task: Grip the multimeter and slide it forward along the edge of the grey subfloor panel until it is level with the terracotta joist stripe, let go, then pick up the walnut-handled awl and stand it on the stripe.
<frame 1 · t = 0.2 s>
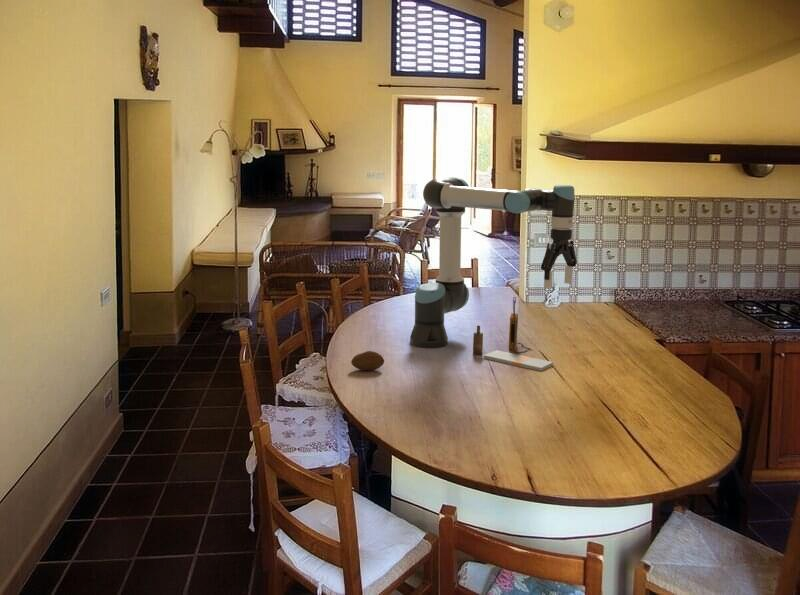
hand: (557, 286, 284), 28 cm above the table, fingers open, 13 cm apart
multimeter: (521, 348, 303), on the table
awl: (477, 353, 295), on the table
panel: (517, 361, 285), on the table
potato: (367, 370, 273), on the table
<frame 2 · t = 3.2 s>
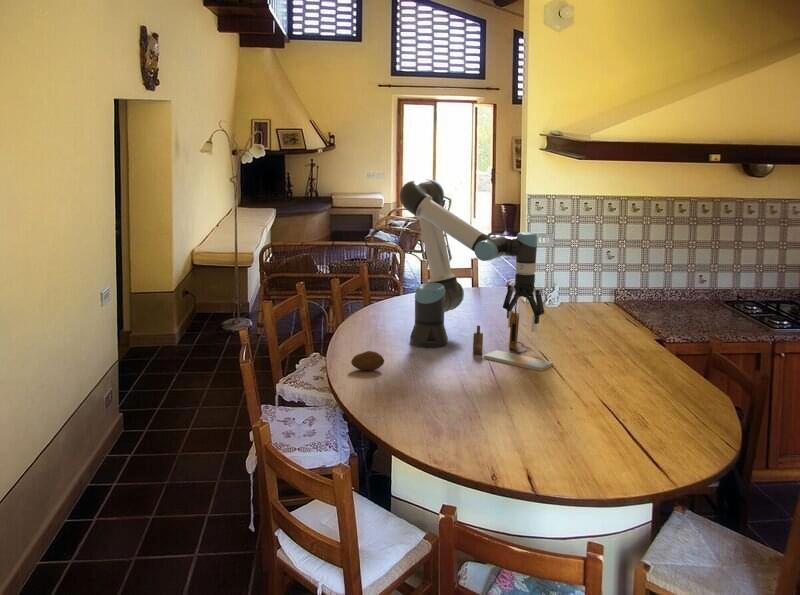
hand: (522, 329, 302), 8 cm above the table, fingers open, 10 cm apart
multimeter: (522, 348, 303), on the table, touching gripper
everything else where it was.
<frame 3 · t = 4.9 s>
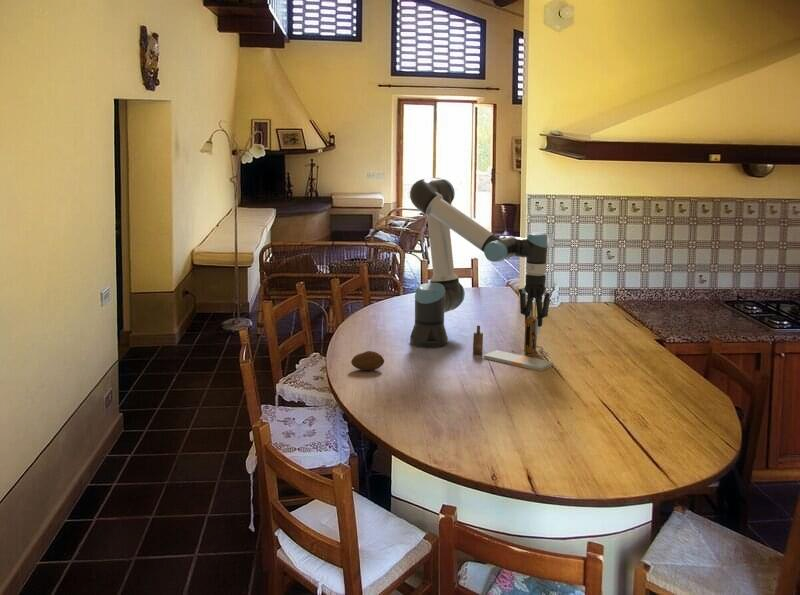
hand: (533, 333, 299), 7 cm above the table, fingers closed on multimeter, 3 cm apart
multimeter: (539, 352, 297), on the table, touching gripper
everything else where it was.
when the fingers open (7 cm above the table, at t = 6.7 s): multimeter stays where it is, on the table.
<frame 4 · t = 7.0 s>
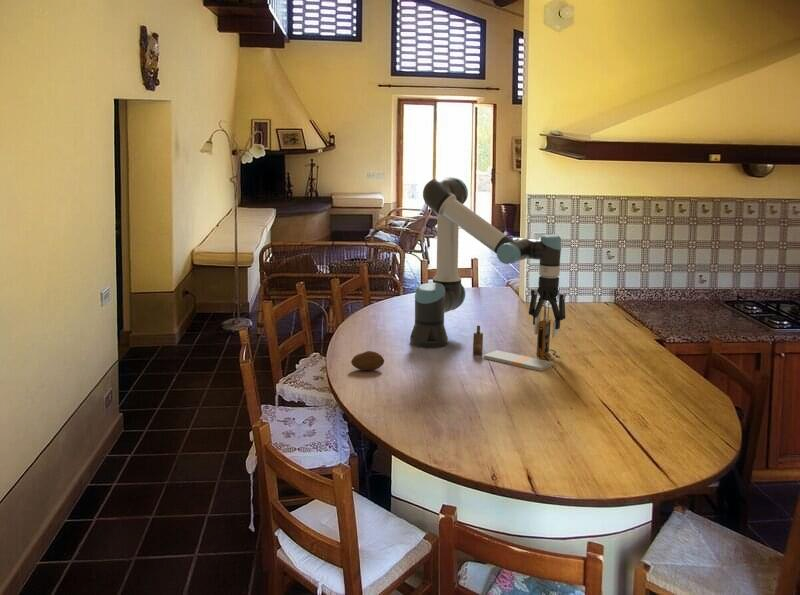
hand: (545, 335, 296), 7 cm above the table, fingers open, 7 cm apart
multimeter: (551, 356, 294), on the table
everything else where it was.
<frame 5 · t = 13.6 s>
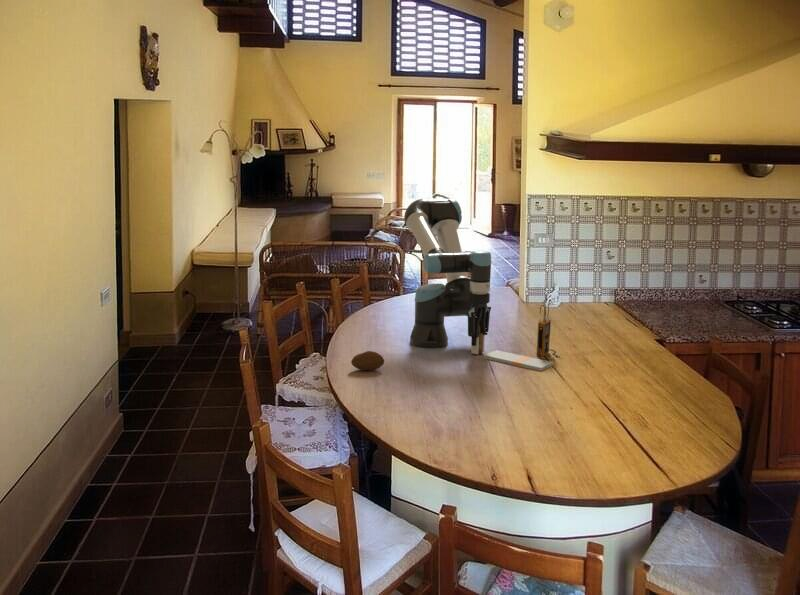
hand: (477, 352, 295), 1 cm above the table, fingers closed on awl, 3 cm apart
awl: (477, 353, 295), on the table, touching gripper
everything else where it was.
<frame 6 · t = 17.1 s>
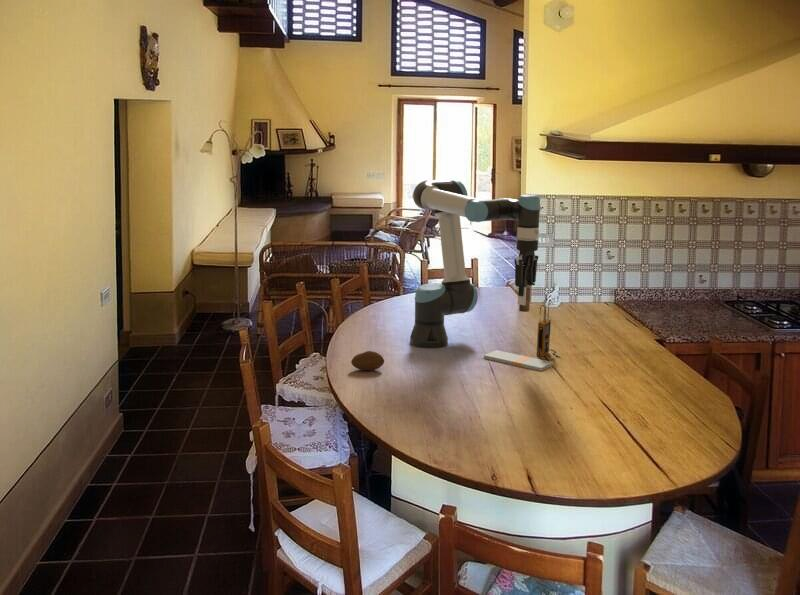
hand: (524, 303, 279), 22 cm above the table, fingers closed on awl, 3 cm apart
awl: (524, 310, 279), point 20 cm above the table, touching gripper
everything else where it was.
when the fingers open (3 cm above the table, at t = 20.7 s): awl stays where it is, resting on panel.
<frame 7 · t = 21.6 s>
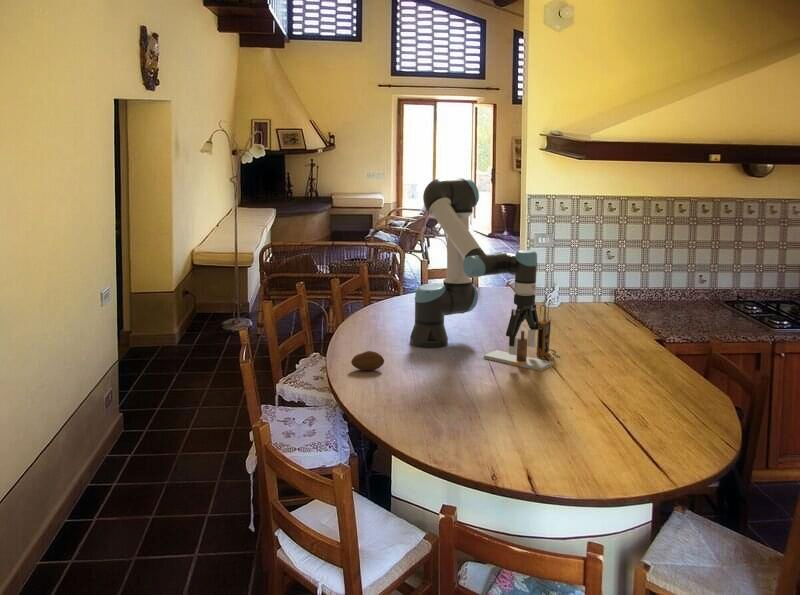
hand: (521, 350, 282), 5 cm above the table, fingers open, 13 cm apart
multimeter: (551, 356, 294), on the table, touching hand
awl: (521, 360, 283), point 1 cm above the table, touching panel
everything else where it was.
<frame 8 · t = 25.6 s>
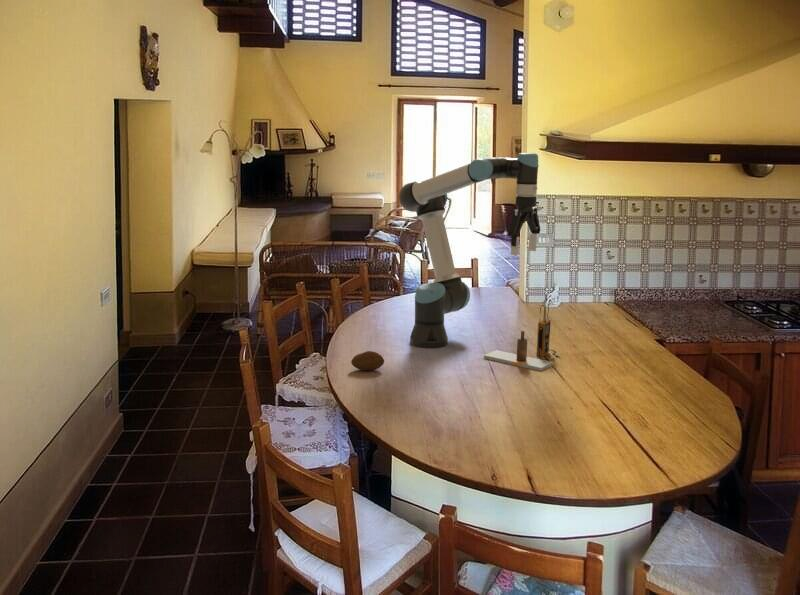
hand: (523, 252, 289), 39 cm above the table, fingers open, 13 cm apart
multimeter: (551, 356, 294), on the table
everything else where it was.
at the end: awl inside the target area (0.8 cm from its centre), point 1.2 cm above the table; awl tilted 0°; multimeter moved 13.8 cm from its start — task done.
